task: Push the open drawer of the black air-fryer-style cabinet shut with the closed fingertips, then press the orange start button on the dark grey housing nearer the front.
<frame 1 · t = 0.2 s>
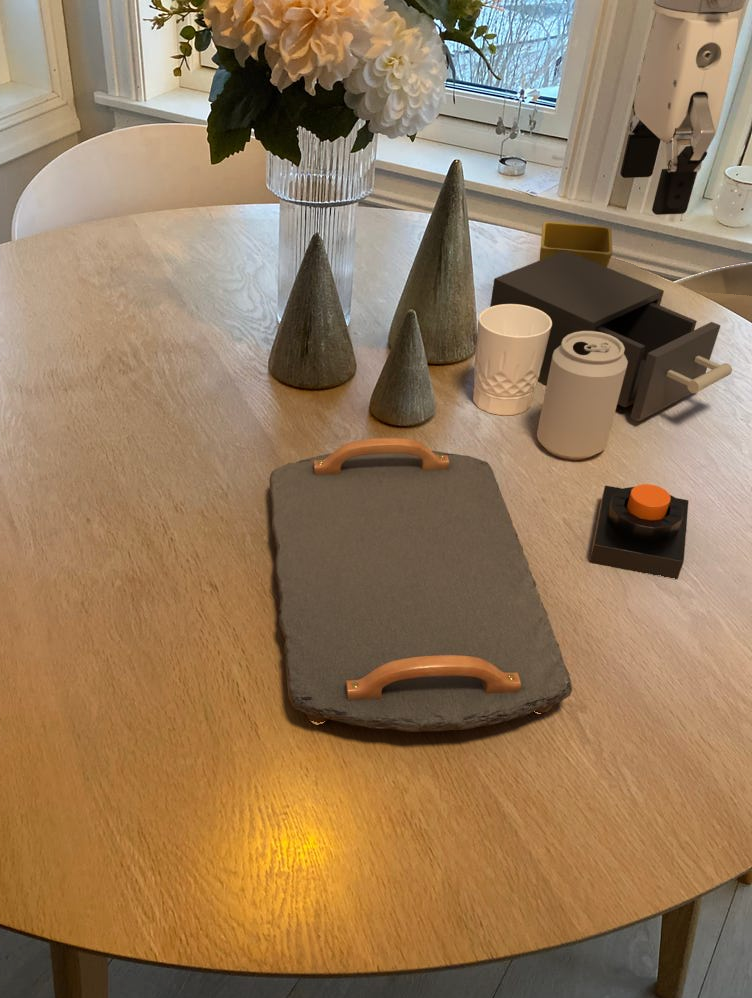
hand: (651, 194, 98), 24 cm above the table, tool pointing down, fingers open, 9 cm apart
flower pot: (563, 305, 133), on the table
white cup: (501, 402, 115), on the table
serving tray: (399, 590, 92), on the table
cabinet: (562, 359, 122), on the table
button: (648, 502, 93), point 4 cm above the table, slide at 0.1 cm
drawer: (645, 357, 112), point 5 cm above the table, slide at 7.0 cm
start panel: (637, 539, 96), on the table
can: (569, 446, 109), on the table
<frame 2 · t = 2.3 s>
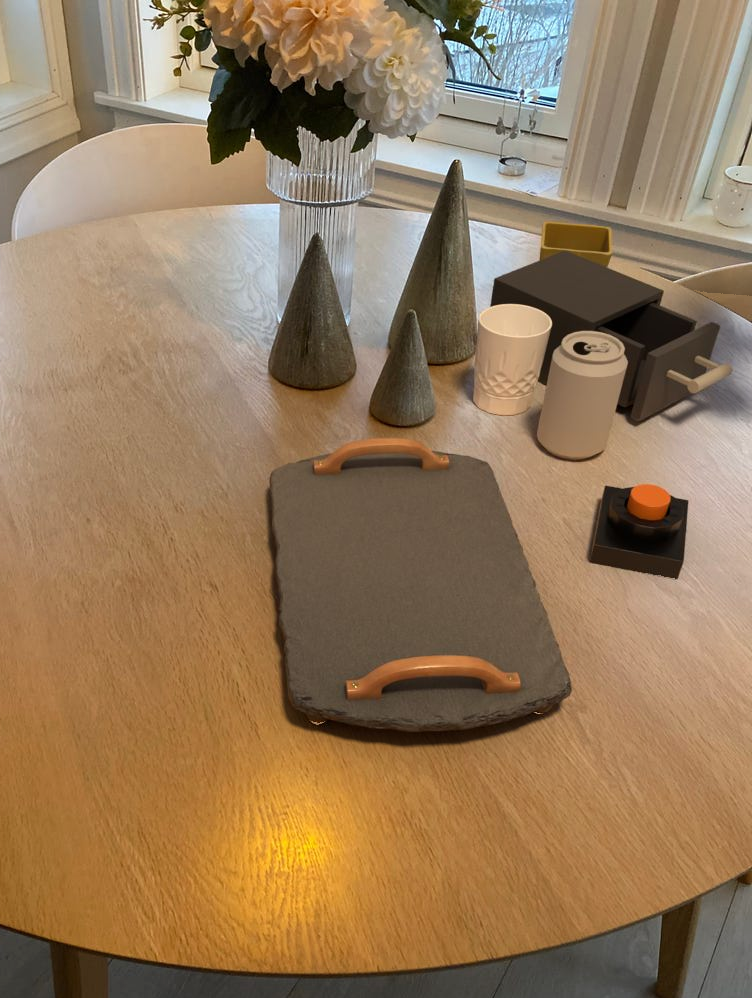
nothing on the table moved.
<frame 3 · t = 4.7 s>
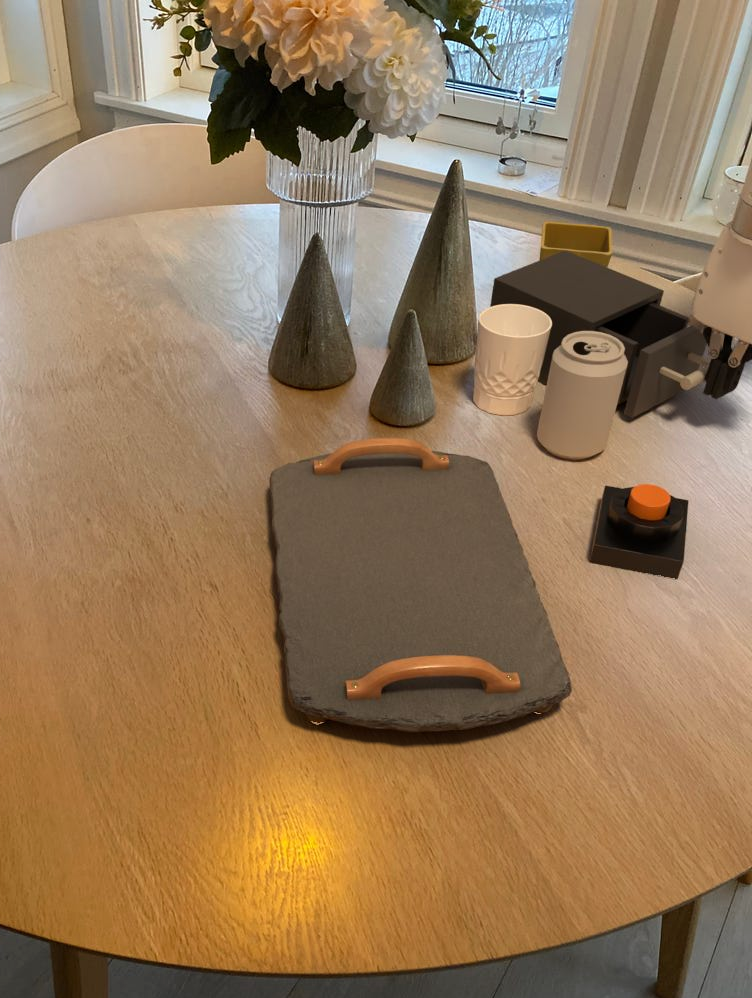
hand: (717, 392, 107), 5 cm above the table, tool pointing down, fingers closed
drawer: (638, 354, 113), point 5 cm above the table, slide at 6.1 cm, touching gripper
everything else where it was.
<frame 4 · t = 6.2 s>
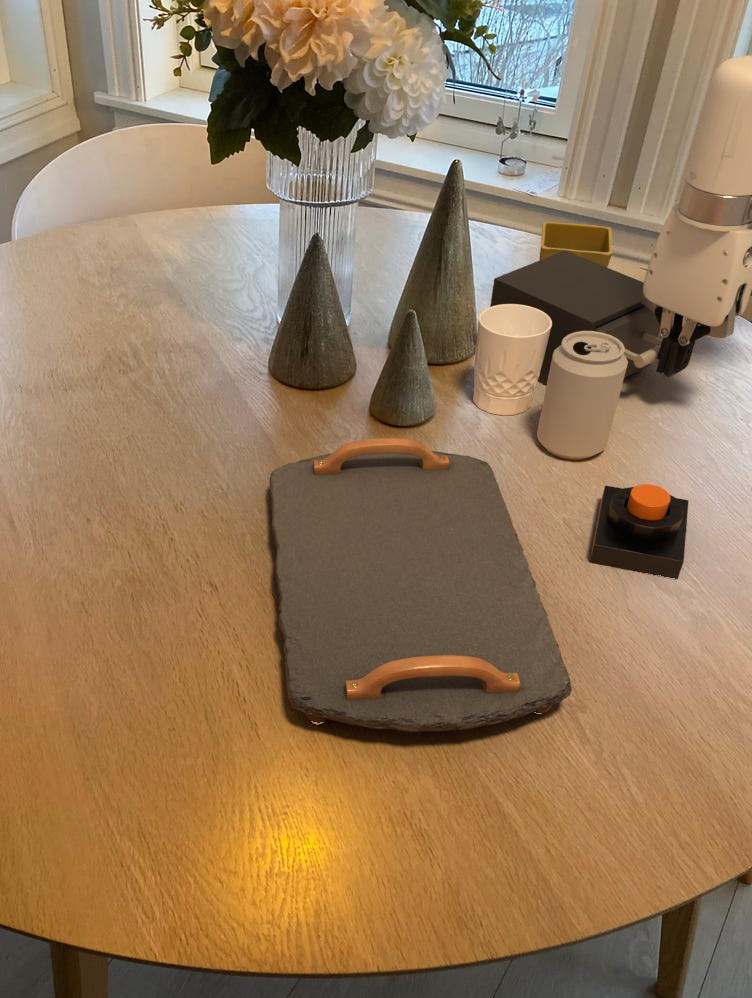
hand: (670, 370, 110), 5 cm above the table, tool pointing down, fingers closed
drawer: (595, 334, 116), point 5 cm above the table, slide at 0.0 cm, touching cabinet, gripper
everything else where it was.
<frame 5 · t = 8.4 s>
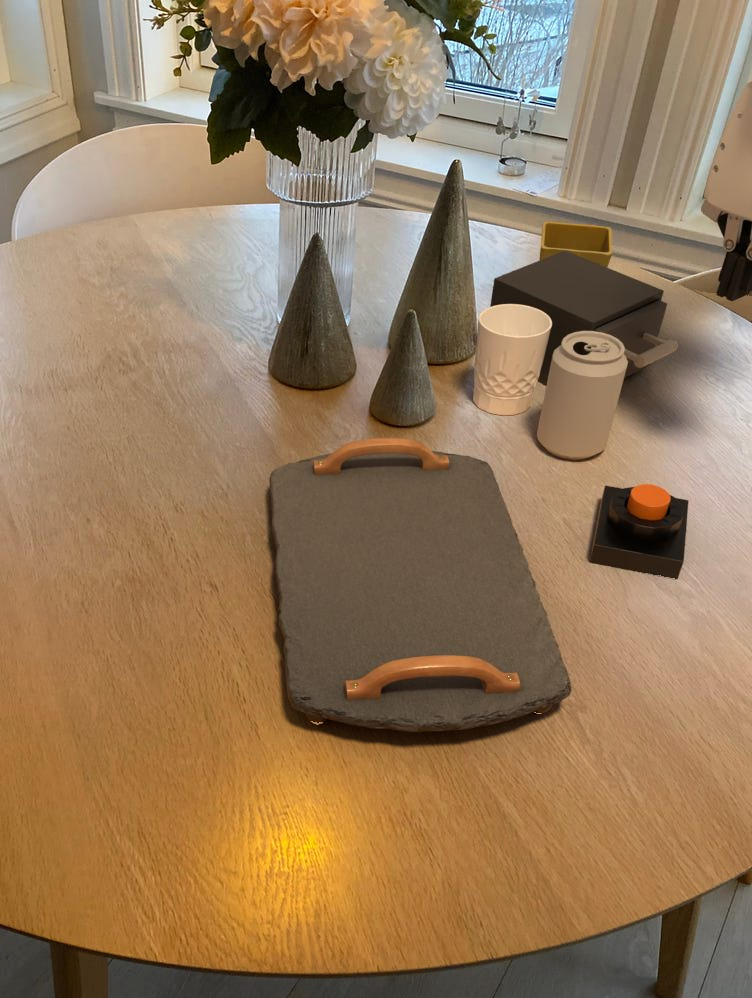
hand: (733, 294, 92), 19 cm above the table, tool pointing down, fingers closed
drawer: (595, 334, 116), point 5 cm above the table, slide at 0.0 cm, touching cabinet
everything else where it was.
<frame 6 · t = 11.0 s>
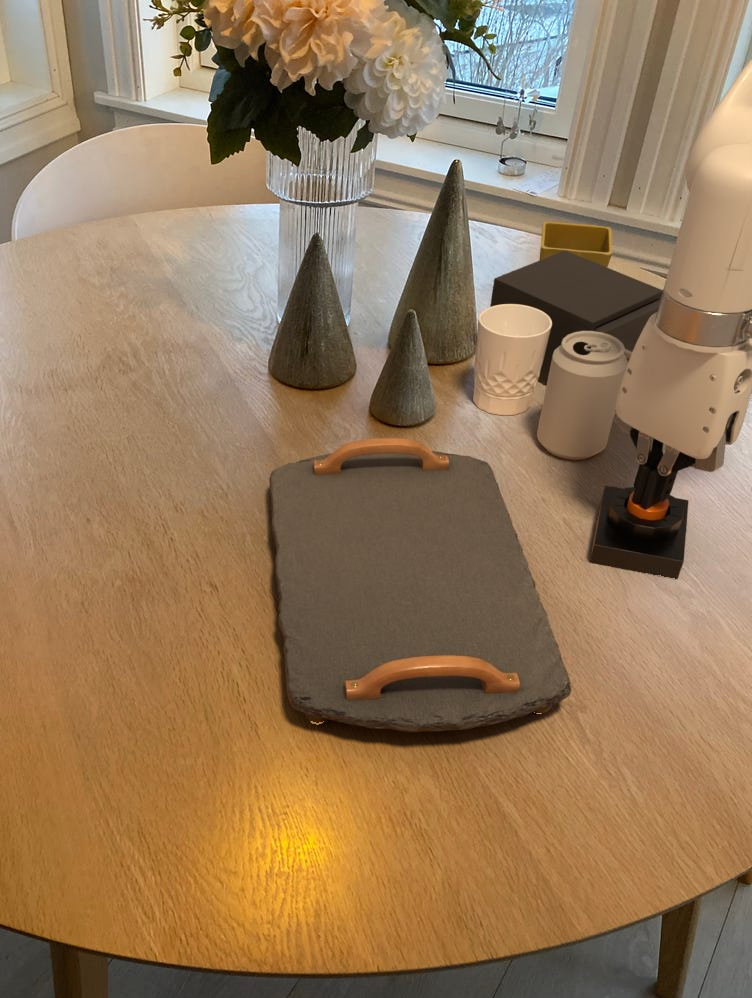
hand: (648, 499, 93), 5 cm above the table, tool pointing down, fingers closed
button: (647, 507, 94), point 4 cm above the table, slide at -0.5 cm, touching gripper
everything else where it was.
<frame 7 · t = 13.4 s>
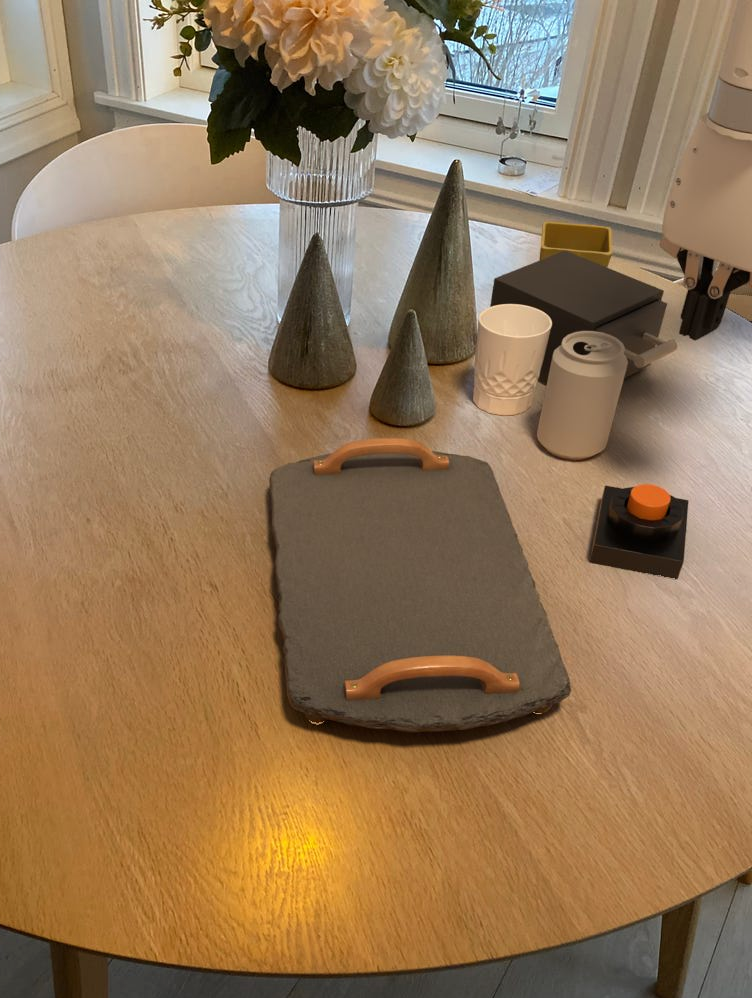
hand: (696, 332, 87), 19 cm above the table, tool pointing down, fingers closed
button: (648, 502, 93), point 4 cm above the table, slide at 0.1 cm
everything else where it was.
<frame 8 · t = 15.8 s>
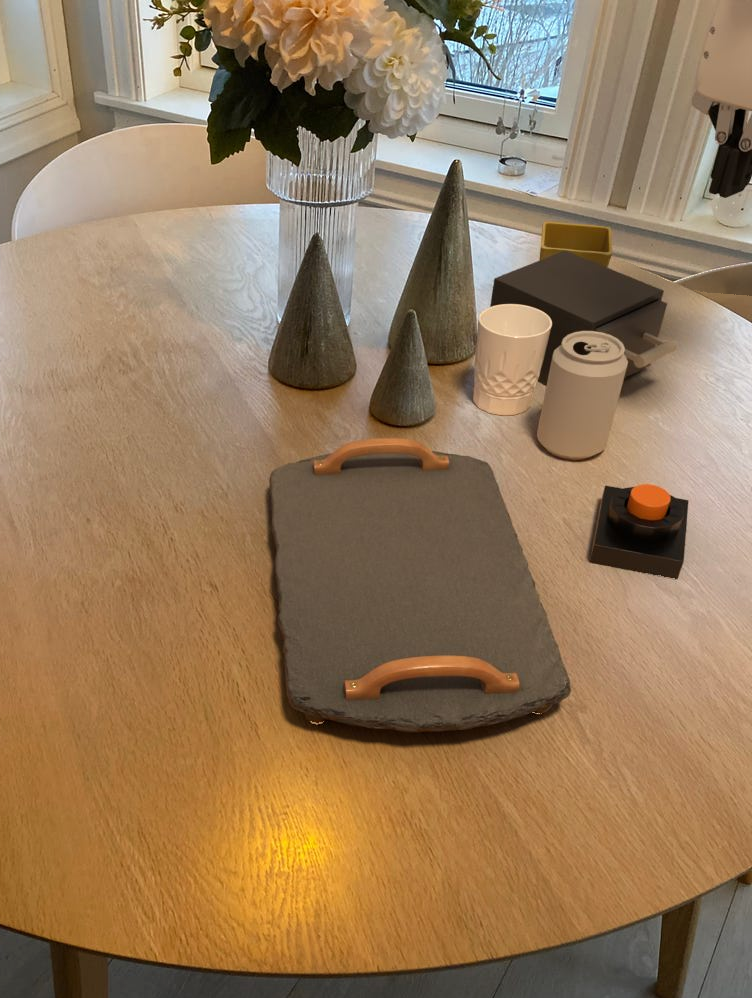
hand: (726, 191, 89), 27 cm above the table, tool pointing down, fingers closed
nothing on the table moved.
at the end: drawer slide at 0.0 cm; button pushed in 1.1 cm at the most during the clip, back to where it started at the end; button slide at 0.1 cm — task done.
